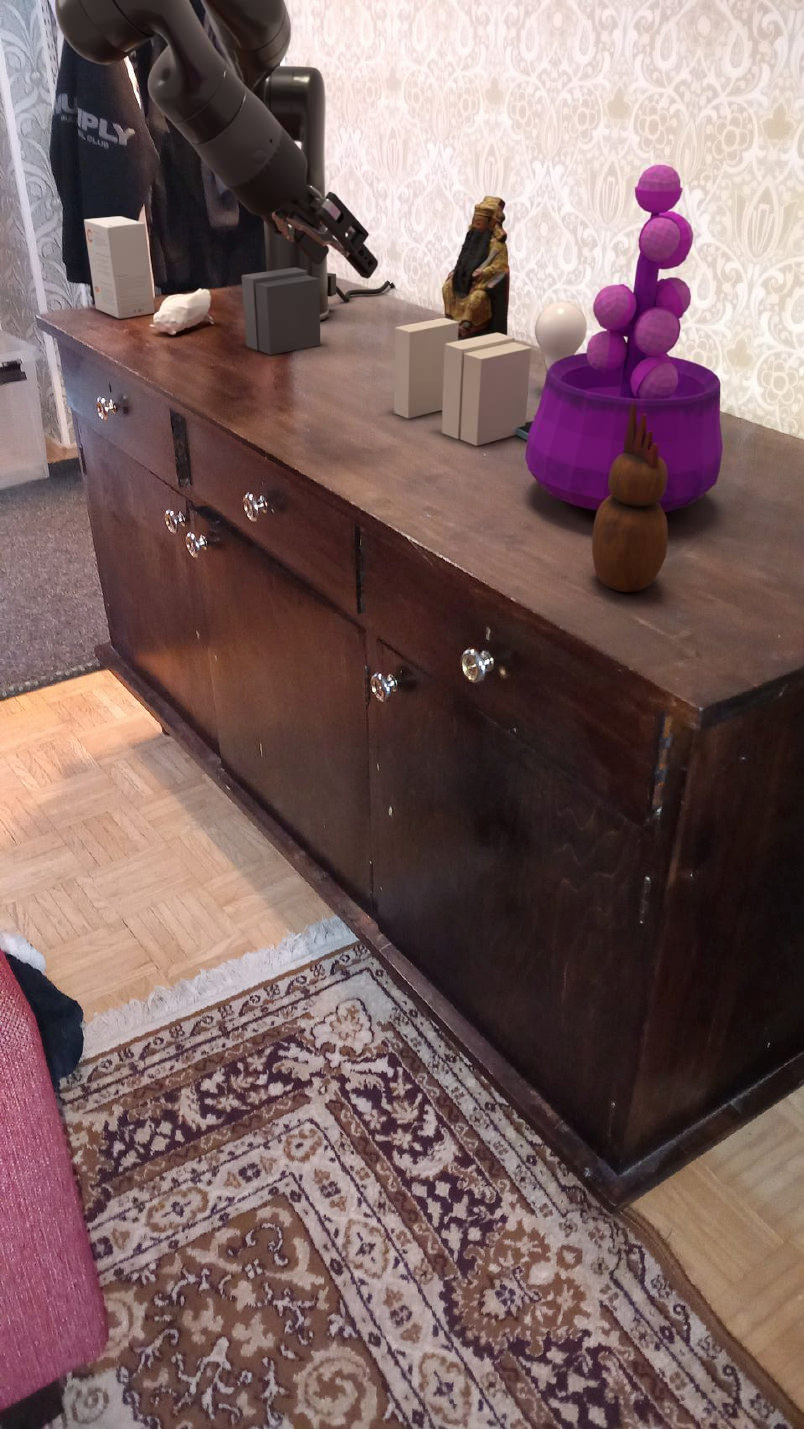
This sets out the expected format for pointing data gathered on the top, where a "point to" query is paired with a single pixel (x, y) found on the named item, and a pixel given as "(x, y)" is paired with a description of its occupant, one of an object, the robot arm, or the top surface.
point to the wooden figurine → (632, 514)
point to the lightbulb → (560, 331)
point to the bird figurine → (183, 311)
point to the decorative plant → (633, 377)
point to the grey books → (281, 310)
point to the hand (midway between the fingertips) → (346, 264)
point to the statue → (480, 275)
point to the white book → (421, 365)
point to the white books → (485, 388)
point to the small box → (119, 266)
